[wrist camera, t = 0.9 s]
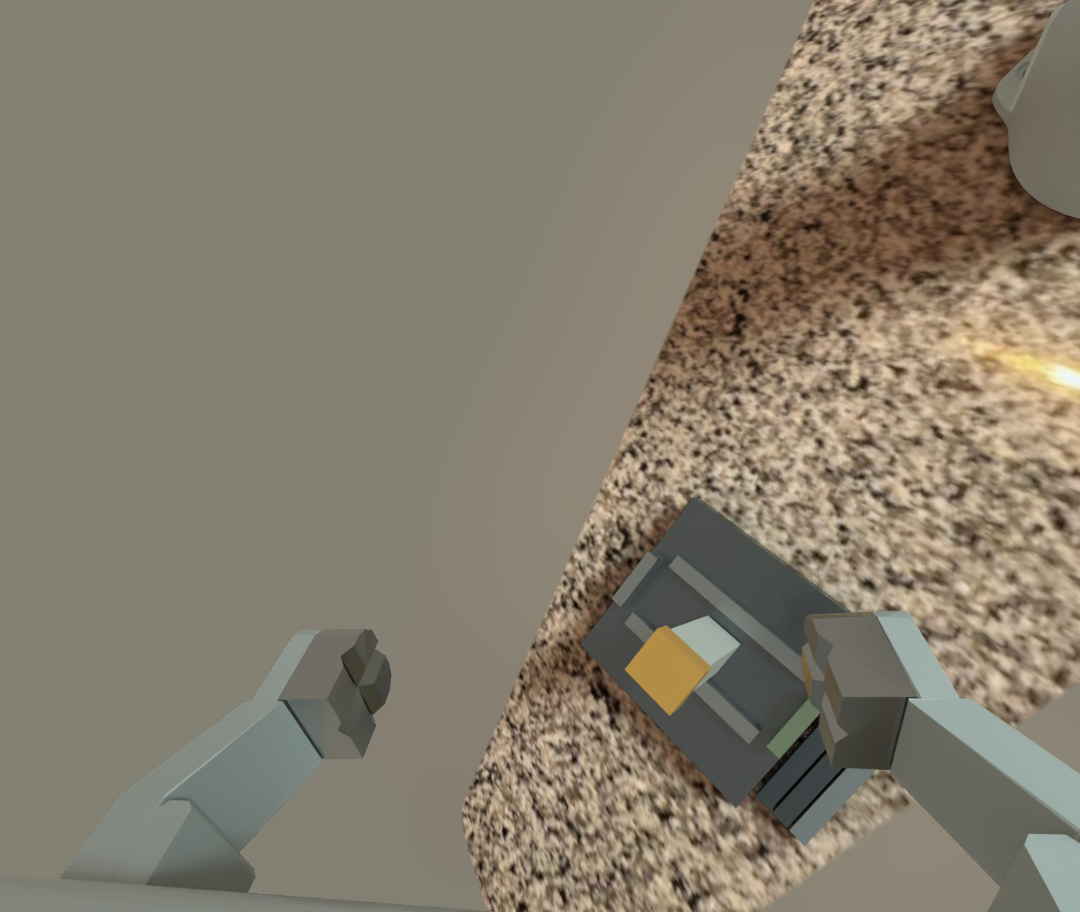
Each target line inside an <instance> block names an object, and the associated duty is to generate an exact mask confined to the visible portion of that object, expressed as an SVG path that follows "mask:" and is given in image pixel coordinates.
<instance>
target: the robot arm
mask: <svg viewBox="0 0 1080 912" xmlns="http://www.w3.org/2000/svg"><path fill="white" fill-rule="evenodd" d="M992 102H993V105H994V108H995V109H996V111H997V113H998V114H999V116H1000V117H1001V119H1002V120H1003V121H1004V122H1005V124H1006V125H1007V129H1008V135H1009V159H1010V163H1011V166H1012V169H1013V172H1014V174H1015V176H1016V178H1017V179H1018V181H1019V183H1020V184H1021V185H1022V187H1023V188H1024V189H1025V190H1026V191H1027V192H1028V193H1029V194H1030V195H1031V196H1032V197H1034V198H1035V199H1036V200H1038V201H1039V202H1040V203H1042V204H1044V205H1045V206H1047V207H1049V208H1051V209H1053V210H1055V211H1058V212H1060V213H1062V214H1065V215H1068V216H1072V217H1075V218H1079V219H1080V0H1068V1H1067V2H1066V3H1064V4H1061V5H1058V6H1057V7H1056V8H1055V10H1054V11H1053V13H1052V14H1051V16H1050V18H1049V19H1048V22H1047V24H1046V26H1045V28H1044V31H1043V33H1042V35H1041V37H1040V40H1039V42H1038V44H1037V46H1036V47H1035V48H1034V49H1033V50H1032V51H1031V52H1030V53H1028V54H1027V55H1026V56H1025V57H1024V58H1023V59H1022V60H1021V61H1020V62H1019V63H1018V64H1017V65H1016V66H1015V67H1014V68H1013V69H1012V70H1011V71H1010V72H1009V73H1008V74H1007V75H1005V76H1004V77H1003V78H1002V80H1001V81H1000V82H999V83H998V85H997V87H996V89H995V91H994V94H993V97H992ZM804 632H805V635H806V638H807V641H808V643H806V644H805V645H804V646H803V647H802V660H801V661H802V671H803V678H804V682H805V687H806V691H807V694H808V697H809V700H810V703H811V704H812V705H813V706H814V707H815V708H816V709H818V710H819V711H820V720H819V731H820V734H821V737H822V740H823V743H824V746H825V749H826V752H827V755H828V758H829V761H830V764H831V767H833V768H855V769H877V770H890V774H891V775H892V776H893V777H894V778H895V779H896V780H897V781H898V782H899V783H900V784H901V785H902V786H903V787H904V788H905V789H906V790H907V791H908V792H909V793H910V794H911V795H912V796H913V797H914V798H915V799H916V801H917V802H918V803H919V804H920V805H921V806H922V807H923V808H924V809H925V810H926V811H927V812H928V813H929V814H930V815H931V816H932V817H933V818H934V819H935V820H936V821H937V822H938V823H939V824H940V825H941V826H942V827H943V828H944V829H945V830H946V831H947V832H948V834H949V835H950V836H951V837H952V838H953V839H954V840H955V841H956V842H957V843H958V844H959V845H960V846H961V847H962V848H963V849H964V850H965V851H966V852H967V853H968V854H969V855H970V856H971V857H972V858H973V859H974V860H975V861H976V862H977V863H978V864H979V865H980V867H981V868H982V869H983V870H984V871H985V872H986V873H987V874H988V875H989V876H990V877H991V878H992V879H993V880H994V881H995V882H996V883H997V884H998V885H999V886H1000V889H999V891H998V893H997V895H996V897H995V898H994V900H993V902H992V904H991V906H990V908H989V910H988V911H987V912H1080V774H1079V773H1077V772H1076V771H1074V770H1073V769H1072V768H1070V767H1069V766H1067V765H1066V764H1064V763H1063V762H1061V761H1060V760H1059V759H1057V758H1056V757H1054V756H1053V755H1051V754H1050V753H1048V752H1047V751H1046V750H1044V749H1043V748H1041V747H1040V746H1038V745H1037V744H1036V743H1034V742H1033V741H1031V740H1030V739H1028V738H1027V737H1025V736H1024V735H1022V734H1021V733H1019V732H1018V731H1017V730H1015V729H1014V728H1012V727H1011V726H1010V725H1008V724H1007V723H1005V722H1004V721H1002V720H1001V719H1000V718H998V717H997V716H995V715H994V714H992V713H991V712H989V711H988V710H987V709H985V708H984V707H982V706H981V705H979V704H978V703H976V702H975V701H974V700H972V699H966V698H959V696H958V694H957V693H956V691H955V689H954V688H953V686H952V684H951V683H950V681H949V679H948V678H947V676H946V674H945V672H944V671H943V669H942V667H941V666H940V664H939V662H938V661H937V659H936V657H935V656H934V654H933V652H932V651H931V649H930V647H929V646H928V644H927V642H926V640H925V639H924V637H923V635H922V634H921V632H920V630H919V629H918V627H917V625H916V624H915V622H914V620H913V619H912V617H911V616H910V615H909V614H908V613H907V612H905V611H888V612H871V613H869V612H853V613H830V614H807V616H806V618H805V621H804ZM377 643H378V640H377V638H376V636H375V634H374V633H373V631H372V630H366V629H362V630H361V629H359V630H358V629H347V630H346V629H345V630H344V629H340V630H338V629H336V630H300V631H299V632H297V633H296V634H294V635H293V636H292V638H291V640H290V641H289V643H288V644H287V646H286V648H285V649H284V651H283V652H282V654H281V655H280V657H279V658H278V660H277V662H276V663H275V665H274V666H273V668H272V669H271V671H270V673H269V674H268V676H267V678H266V679H265V681H264V682H263V684H262V685H261V687H260V688H259V690H258V692H257V693H256V695H255V696H254V698H253V699H252V701H244V702H243V703H242V704H240V705H239V706H238V707H236V708H235V709H234V710H232V711H231V712H230V713H229V714H227V715H226V716H225V717H223V718H222V719H221V720H219V721H218V722H217V723H215V724H214V725H213V726H211V727H210V728H209V729H207V730H206V731H205V732H204V733H202V734H201V735H199V736H198V737H197V738H196V739H194V740H193V741H192V742H190V743H189V744H188V745H186V746H185V747H184V748H182V749H181V750H180V751H178V752H177V753H176V754H174V755H173V756H172V757H171V758H169V759H168V760H167V761H165V762H164V763H163V764H161V765H160V766H159V767H157V768H156V769H155V770H153V771H152V772H151V773H149V774H148V775H147V776H145V777H144V778H143V779H141V780H140V781H139V782H138V783H136V784H135V785H134V786H132V787H131V788H130V789H128V790H127V791H126V792H124V793H123V794H122V795H121V796H120V797H119V798H118V799H117V801H116V802H115V804H114V805H113V806H112V808H111V809H110V810H109V812H108V813H107V814H106V816H105V817H104V818H103V820H102V821H101V822H100V824H99V825H98V827H97V828H96V829H95V831H94V832H93V833H92V835H91V836H90V838H89V839H88V840H87V842H86V843H85V844H84V846H83V847H82V849H81V850H80V851H79V852H78V854H77V855H76V857H75V858H74V859H73V861H72V862H71V863H70V865H69V866H68V867H67V869H66V870H65V871H64V873H63V874H62V875H61V877H60V878H46V877H32V876H20V875H6V874H0V912H493V911H479V910H467V909H453V908H440V907H427V906H413V905H401V904H388V903H373V902H361V901H348V900H335V899H321V898H309V897H296V896H282V895H269V894H256V893H248V891H249V889H250V887H251V885H252V883H253V881H254V879H255V872H254V868H253V867H252V866H251V865H250V864H249V863H248V862H247V861H246V860H245V859H244V858H243V857H242V856H241V854H240V853H239V852H240V851H241V850H242V849H243V848H244V847H245V846H246V845H247V843H248V842H249V841H250V840H251V839H252V838H253V837H254V836H255V835H256V834H257V833H258V832H259V830H260V829H261V828H262V827H263V826H264V825H265V824H266V823H267V822H268V821H269V820H270V818H271V817H272V816H273V815H274V814H275V813H276V812H277V811H278V810H279V808H281V806H282V805H283V804H284V803H285V802H286V801H287V800H288V799H289V798H290V797H291V795H292V794H293V793H294V792H295V791H296V790H297V789H298V788H299V787H300V786H301V785H302V784H303V783H304V781H305V780H306V779H307V778H308V777H309V776H310V775H311V774H312V773H313V772H314V771H315V769H316V768H317V767H318V766H319V765H320V764H321V763H322V762H323V761H322V759H347V758H348V759H349V758H350V759H351V758H363V756H364V754H365V751H366V749H367V746H368V744H369V741H370V739H371V737H372V734H373V731H374V729H375V726H376V724H375V720H374V717H373V714H374V713H375V712H377V710H379V709H380V708H381V707H382V706H383V705H384V704H385V701H386V699H387V696H388V693H389V690H390V682H391V671H390V665H389V662H388V660H387V658H386V656H385V655H383V654H382V653H380V652H379V651H378V650H376V649H375V647H376V645H377Z"/></svg>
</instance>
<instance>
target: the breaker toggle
mask: <svg viewBox="0 0 1080 912" xmlns="http://www.w3.org/2000/svg"><path fill="white" fill-rule="evenodd" d="M739 646H740V643H739V642H738V641H737V640H736V639H734V638H733V637H732V636H731V635H730V634H729V633H728V632H726V631H725V630H724V629H723V628H722V627H721V626H720V625H718V624H717V623H716V622H715V621H714V620H713V619H711V618H710V617H709V616H705V617H702V618H700V619H697V620H694V621H691V622H689V623H686V624H683V625H680V626H677V627H675V628H672V629H670V628H669V627H668V626H667V625H666V626H663V627H660V628H657V629H656V631H655V632H654V633H653V634H652V636H651V637H650V638H649V639H648V641H647V642H646V643H645V644H644V646H643V647H642V648H641V649H640V651H639V652H638V653H637V654H636V656H635V657H634V658H633V660H632V661H631V662H630V663H629V665H628V666H627V667H626V668H625V671H626V672H627V673H628V674H629V675H630V676H631V677H632V678H633V679H634V680H635V681H636V682H637V683H638V684H639V685H640V686H641V687H642V688H643V689H644V690H645V691H646V692H647V693H648V694H649V695H650V696H651V697H652V698H653V699H654V700H655V701H656V702H657V703H658V704H659V705H660V706H661V708H662V709H663V710H664V711H665V712H666V713H667V714H668V715H669V716H670V715H671V714H672V713H674V712H675V711H676V710H677V709H679V707H680V706H681V705H682V704H683V703H684V701H685V700H686V699H687V698H688V697H689V695H690V694H691V693H692V692H693V691H694V690H695V689H697V688H698V687H699V686H700V685H702V684H703V683H704V682H705V681H707V680H708V679H709V678H711V677H712V676H713V675H714V674H716V673H717V672H718V671H719V670H720V668H721V667H722V666H723V665H724V664H725V662H726V661H727V660H728V659H729V658H730V656H731V655H732V654H733V653H734V652H735V650H736V649H737V648H738V647H739Z"/></svg>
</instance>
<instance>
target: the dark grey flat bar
mask: <svg viewBox="0 0 1080 912" xmlns="http://www.w3.org/2000/svg"><path fill="white" fill-rule="evenodd" d="M824 750H825V746H824V743H823V740H822V737H821V734H820V731H819V723H818V724H817V725H816V727H815V728H814V729H813V730H812V731H811V732H810V733H809V734H808V735H807V737H806V738H805V739H804V740H803V741H802V742H801V743H800V744H799V746H798V747H797V748H796V749H795V750H794V751H793V752H792V753H791V754H790V756H789V757H788V758H787V759H786V760H785V761H784V762H783V763H782V764H781V766H780V767H779V768H778V769H777V770H776V771H775V772H774V773H773V775H772V776H771V777H770V778H769V779H768V780H767V781H766V782H765V783H764V785H763V786H762V787H761V788H760V789H759V790H758V792H757V794H756V797H757V798H758V799H759V800H760V801H761V802H762V803H763V804H764V805H765V806H766V807H767V808H768V809H769V810H771V809H772V808H773V807H774V805H775V804H776V803H777V802H778V801H779V800H780V799H781V798H782V797H783V796H784V794H785V793H786V792H787V791H788V790H789V789H790V788H791V787H792V786H793V785H794V783H795V782H796V781H797V780H798V779H799V778H800V777H801V776H802V775H803V774H804V772H805V771H806V770H807V769H808V768H809V767H810V766H811V765H812V764H813V763H814V761H815V760H816V759H817V758H818V757H819V756H820V755H821V754H822V753H823V752H824ZM875 770H876V769H855V768H833V767H831V764H830V761H829V758H828V755H827V752H826V751H825V752H824V753H823V754H822V755H821V756H820V757H819V758H818V759H817V760H816V761H815V763H814V764H813V765H812V766H811V767H810V768H809V769H808V770H807V771H806V772H805V774H804V775H803V776H802V777H801V778H800V779H799V780H798V781H797V782H796V783H795V785H794V786H793V787H792V788H791V789H790V790H789V791H788V792H787V793H786V794H785V796H784V797H783V798H782V799H781V800H780V801H779V802H778V803H777V804H776V805H775V807H774V809H773V812H772V813H773V814H774V815H775V816H776V817H777V818H778V819H779V820H780V821H781V823H782V824H783V825H784V826H785V827H786V828H787V827H788V826H789V825H790V824H791V826H790V830H789V831H790V832H791V833H792V834H793V835H794V836H795V837H796V838H797V839H798V840H799V841H800V842H801V843H802V844H803V845H804V846H805V845H806V844H807V843H808V842H809V840H810V839H811V838H812V837H813V836H814V835H815V834H816V833H817V832H818V831H819V830H820V829H821V828H822V827H823V826H824V824H825V823H826V822H827V821H828V820H829V819H830V818H831V817H832V816H833V815H834V814H835V813H836V812H837V811H838V810H839V809H840V807H841V806H842V805H843V804H844V803H845V802H846V801H847V800H848V799H849V798H850V797H851V796H852V795H853V794H854V793H855V791H856V790H857V789H858V788H859V787H860V786H861V785H862V784H863V783H864V782H865V781H866V780H867V779H868V778H869V777H870V776H871V774H872V773H873V772H874V771H875ZM834 776H835V777H834ZM833 777H834V778H833ZM832 778H833V779H832ZM822 789H823V790H822ZM821 790H822V791H821ZM820 791H821V792H820ZM809 803H810V804H809ZM808 804H809V805H808ZM797 816H798V817H797ZM796 817H797V818H796Z"/></svg>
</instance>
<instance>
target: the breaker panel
mask: <svg viewBox="0 0 1080 912" xmlns="http://www.w3.org/2000/svg"><path fill="white" fill-rule="evenodd" d="M612 599H613V600H614V602H613V603H612V604H611V605H610V607H609V608H608V609H607V611H606V612H605V613H604V615H603V616H602V617H601V618H600V620H599V621H598V622H597V624H596V625H595V626H594V628H593V629H592V630H591V631H590V633H589V634H588V635H587V637H586V638H585V639H584V641H583V642H582V643H581V645H582V647H583V648H584V649H585V650H586V651H587V652H588V653H589V654H590V655H591V656H592V657H593V658H594V659H595V660H596V661H597V662H598V663H599V664H600V665H601V667H602V668H603V669H604V670H605V671H606V672H607V673H608V674H609V675H610V676H611V677H612V678H613V679H614V680H615V681H616V682H617V683H618V684H619V685H620V687H621V688H622V689H623V690H624V691H625V692H626V693H627V694H628V695H629V696H630V697H631V698H632V699H633V700H634V701H635V702H636V703H637V704H638V705H639V707H640V708H641V709H642V710H643V711H644V712H645V713H646V714H647V715H648V716H649V717H650V718H651V719H652V720H653V721H654V722H655V723H656V724H657V725H658V726H659V728H660V729H661V730H662V731H663V732H664V733H665V734H666V735H667V736H668V737H669V738H670V739H671V740H672V741H673V742H674V743H675V744H676V745H677V746H678V748H679V749H680V750H681V751H682V752H683V753H684V754H685V755H686V756H687V757H688V758H689V759H690V760H691V761H692V762H693V763H694V764H695V765H696V766H697V768H698V769H699V770H700V771H701V772H702V773H703V774H704V775H705V776H706V777H707V778H708V779H709V780H710V781H711V782H712V783H713V784H714V785H715V786H716V788H717V789H718V790H719V791H720V792H721V793H722V794H723V795H724V796H725V797H726V798H727V799H728V800H729V801H730V802H731V803H732V804H733V805H734V806H735V808H736V807H737V806H738V805H739V804H740V803H741V802H742V800H743V799H744V798H745V797H746V796H747V795H748V794H749V793H750V792H751V790H752V789H753V788H754V787H755V786H756V785H757V784H758V783H759V781H760V780H761V779H762V778H763V777H764V776H765V775H766V774H767V773H768V771H769V770H770V769H771V768H772V767H773V766H774V765H775V764H776V762H777V761H778V760H779V759H780V758H781V757H782V756H783V755H784V753H785V752H786V751H787V750H788V749H789V748H790V747H791V746H792V745H793V743H794V742H795V741H796V740H797V739H798V738H799V737H800V736H801V734H802V733H803V732H804V731H805V730H806V729H807V728H808V727H809V725H810V724H811V723H812V722H813V721H814V720H815V719H816V718H817V717H818V715H819V714H820V711H819V710H818V709H816V708H815V707H814V706H813V705H812V704H811V703H810V700H809V697H808V694H807V691H806V687H805V682H804V678H803V671H802V661H801V660H802V647H803V646H804V645H805V644H806V643H808V641H807V638H806V635H805V632H804V621H805V618H806V616H807V614H830V613H852V612H851V611H850V610H848V609H847V608H846V607H844V606H843V605H842V604H840V603H839V602H838V601H836V600H835V599H833V598H832V597H831V596H829V595H828V594H827V593H825V592H824V591H823V590H821V589H820V588H819V587H817V586H816V585H815V584H813V583H812V582H811V581H809V580H808V579H807V578H805V577H804V576H803V575H801V574H800V573H799V572H797V571H796V570H795V569H793V568H792V567H791V566H789V565H788V564H787V563H785V562H784V561H783V560H781V559H780V558H779V557H777V556H776V555H775V554H773V553H772V552H771V551H769V550H768V549H767V548H765V547H764V546H763V545H761V544H760V543H759V542H757V541H756V540H755V539H753V538H752V537H751V536H749V535H748V534H747V533H745V532H744V531H743V530H741V529H740V528H739V527H737V526H736V525H735V524H733V523H732V522H731V521H729V520H728V519H727V518H725V517H724V516H723V515H721V514H720V513H719V512H717V511H716V510H715V509H713V508H712V507H711V506H709V505H708V504H707V503H705V502H704V501H702V500H700V499H698V498H695V497H694V498H693V499H692V500H691V501H690V503H689V504H688V505H687V507H686V508H685V509H684V511H683V512H682V513H681V514H680V516H679V517H678V518H677V520H676V521H675V522H674V524H673V525H672V526H671V527H670V529H669V530H668V531H667V533H666V534H665V535H664V537H663V538H662V539H661V540H660V542H659V543H658V544H657V546H656V547H655V548H654V550H653V551H648V552H647V553H646V554H645V556H644V557H643V558H642V560H641V561H640V562H639V564H638V565H637V566H636V567H635V569H634V570H633V571H632V573H631V574H630V575H629V577H628V578H627V579H626V580H625V582H624V583H623V584H622V586H621V587H620V588H619V590H618V591H617V592H616V593H615V595H614V596H613V597H612ZM705 616H709V617H710V618H711V619H713V620H714V621H715V622H716V623H717V624H718V625H720V626H721V627H722V628H723V629H724V630H725V631H726V632H728V633H729V634H730V635H731V636H732V637H733V638H734V639H736V640H737V641H738V642H739V643H740V646H739V647H738V648H737V649H736V650H735V652H734V653H733V654H732V655H731V656H730V658H729V659H728V660H727V661H726V662H725V664H724V665H723V666H722V667H721V668H720V670H719V671H718V672H717V673H716V674H714V675H713V676H712V677H711V678H709V679H708V680H707V681H705V682H704V683H703V684H702V685H700V686H699V687H698V688H697V689H695V690H694V691H693V692H692V693H691V694H690V695H689V697H688V698H687V699H686V700H685V701H684V703H683V704H682V705H681V706H680V707H679V709H677V710H676V711H675V712H674V713H672V714H671V715H670V716H669V715H668V714H667V713H666V712H665V711H664V710H663V709H662V708H661V706H660V705H659V704H658V703H657V702H656V701H655V700H654V699H653V698H652V697H651V696H650V695H649V694H648V693H647V692H646V691H645V690H644V689H643V688H642V687H641V686H640V685H639V684H638V683H637V682H636V681H635V680H634V679H633V678H632V677H631V676H630V675H629V674H628V673H627V672H626V671H625V668H626V667H627V666H628V665H629V663H630V662H631V661H632V660H633V658H634V657H635V656H636V654H637V653H638V652H639V651H640V649H641V648H642V647H643V646H644V644H645V643H646V642H647V641H648V639H649V638H650V637H651V636H652V634H653V633H654V632H655V631H656V629H657V628H660V627H663V626H666V625H667V626H668V627H669V628H670V629H672V628H675V627H677V626H680V625H683V624H686V623H689V622H691V621H694V620H697V619H700V618H702V617H705Z"/></svg>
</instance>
